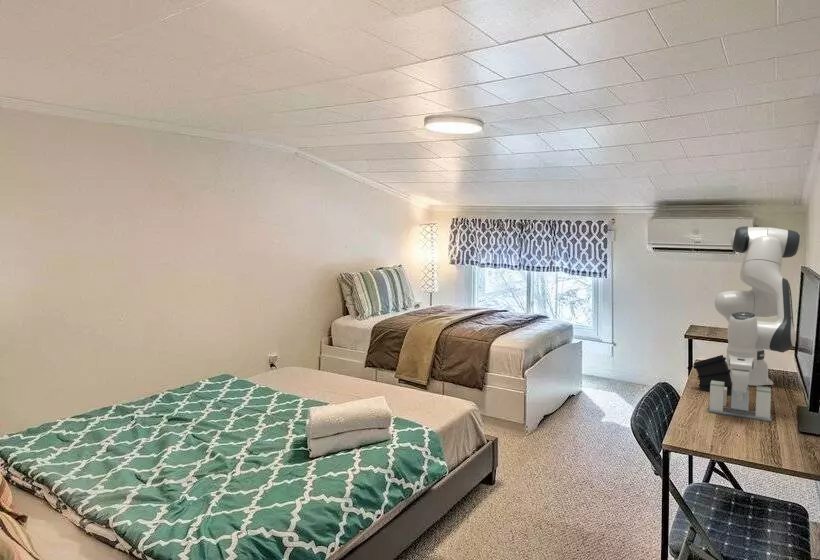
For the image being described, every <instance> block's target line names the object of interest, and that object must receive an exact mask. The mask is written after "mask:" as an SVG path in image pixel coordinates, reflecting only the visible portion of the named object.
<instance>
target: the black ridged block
mask: <svg viewBox="0 0 820 560" xmlns="http://www.w3.org/2000/svg"><path fill="white" fill-rule="evenodd" d="M726 359H727V357H726V356H724V355H723V354H721V355H717V356H714V357H710V358H706V359H703V360H699V361H695V362H694V363H693V365H694V366H693V369H694V370H696V372H697V375H698V376H697V379H698V380H699V384H698V388H699V390H700V391H702V392H709V393H710V383H711V380H713V381H721V382H724V387H727V396H732V382H731V376H730V372H731V371H730V370H729V369H728V365H727V363H726Z"/></svg>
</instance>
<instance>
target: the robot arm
mask: <svg viewBox="0 0 820 560" xmlns="http://www.w3.org/2000/svg"><path fill="white" fill-rule="evenodd" d="M730 237H731V238H730V244H731V247H732V250H734V252H736V253H738V254H743V257H742V264H741V267H740V272H739V278H740V280H741V281H742V282H743V283H744V284H745V285H747V286H749V287H750V288H751V287H752V288H751V289H750V290H726V291H721V292H719V293H718V294H717V295H716V297H715V299H714V307H715V310H716V311H717V312H718V313H719V314H720V315H721V316H723V317H724V318H725V319H726V320H727V322H728V326H727V336H726V337H727V341H728V345H727V347H726V360H725V361H726V363H727V365H728V369H729V370H730V371H731V372H730V376H731V384H733V390H734V391H735V392H736V394H737V401H740V402H742V401H743V394H744V393H746V391H747V386H756V387H757V386H773V385H774V382H773V380H772V379H770V377H769V364H768V363H767V362H766V361H765V354H766V353H765V350H770V351H772V352H778V353H786V352H787V351H790V350H791V349H793V348H794V347H795V346H796V342H797V335H796V331H795V323H794V312H793V300H792V299H793V298H792V290H791V285H790V283H789V280H788V279H787V278H784V277H783V275H782V272H781V271H782V270H781V268H782V259H784V258H785V259H786V258H792V257H794V256H796V255H797V253H798V252H799V251H800V249H801V247H802V246H801V245H802V239H801V235H800V234H799V232H797V231H795V230H792V229H788V230H787V229H782V228H777V227H768V226H767V227H762V226H761V227H759V226H753V227H752V226H751V227H749V226H747V225H746V226H740V227H739V226H738V227H737V228H736V229H735V230H734V232H733V233H732V235H731V236H730ZM776 316H777V320H776V321H767V320H764V321H763V320H758V317H759V318H760V317H761V318H769V317H776Z"/></svg>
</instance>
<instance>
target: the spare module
mask: <svg viewBox="0 0 820 560" xmlns="http://www.w3.org/2000/svg"><path fill="white" fill-rule="evenodd" d="M727 397H728V395H727V387H724V407H727V403H728V402H727V399H728V398H727Z"/></svg>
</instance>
